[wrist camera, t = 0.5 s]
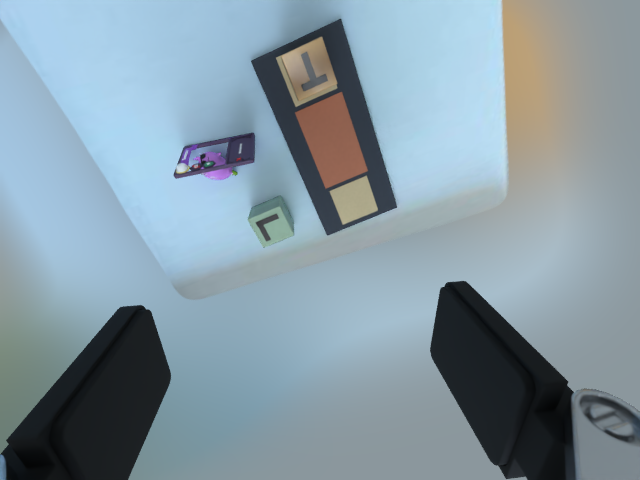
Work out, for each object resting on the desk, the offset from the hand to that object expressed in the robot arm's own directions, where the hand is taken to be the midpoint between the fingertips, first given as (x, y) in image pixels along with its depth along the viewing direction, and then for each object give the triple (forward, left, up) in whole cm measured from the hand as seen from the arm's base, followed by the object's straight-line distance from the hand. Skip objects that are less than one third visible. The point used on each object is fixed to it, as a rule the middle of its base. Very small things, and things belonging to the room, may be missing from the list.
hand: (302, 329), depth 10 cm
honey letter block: (-10, +2, -32) cm, 33 cm away
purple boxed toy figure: (0, -9, -33) cm, 34 cm away
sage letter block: (+8, -3, -33) cm, 34 cm away
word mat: (-2, +5, -33) cm, 33 cm away
